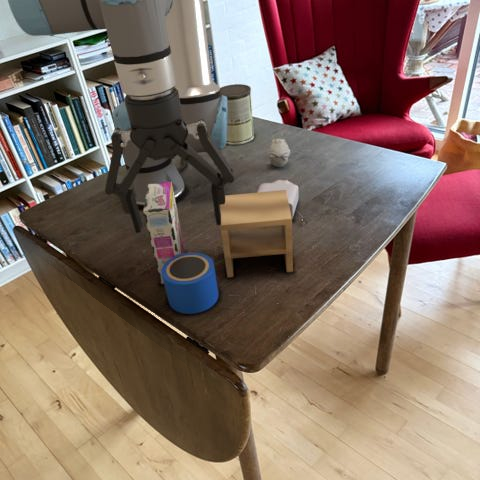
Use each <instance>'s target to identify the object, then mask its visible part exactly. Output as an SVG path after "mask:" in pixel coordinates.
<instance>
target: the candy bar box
mask: <svg viewBox="0 0 480 480" xmlns="http://www.w3.org/2000/svg"><path fill="white" fill-rule="evenodd" d="M177 207H178V206H177V201H175V196H174V191H173V186H172V182H164V183H156V184H148V188H147V194H146V199H145V204H144V209H143V210H142V211H143V212H142V213H143V216H144V219H145V224H146V229H147V232H148V236H149V240H150V244H151V248H152V252H153V256H154V260H155V263H156V269H157V273H158V276H159V280H160V284H161V285H164V282H163V278H162V274H161V270H162V267H163V265H164V264H165V263H166V262H167V261H168V260H169V259H171V258H173V257H175V256H177V255H180V254H184V253H186V249H185V244H184V243H185V242H184V239H183V233H182V229H181V222H180V219H179V213H178V208H177Z"/></svg>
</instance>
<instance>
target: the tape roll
mask: <svg viewBox="0 0 480 480" xmlns="http://www.w3.org/2000/svg"><path fill="white" fill-rule="evenodd" d="M161 274H162V278H163V282H164V284H163V285H164V290H165V294H166V298H167V300H168V304H169V306H170V308H171V309H173V311H175V312H178V313H181V314H185V315H193V314H199V313H202V312H205V311H208V310H209V309H211V308H212V307H214V305H216V303H217V301H218V300H219V295H220V294H219V288H218V281H217V275H216V269H215V263H214V260H213V258H211V256H209V255H207V254H205V253H201V252H185V253H184V254H180V255H177V256H175V257H173V258H171V259H169V260H168V261H167V262H166V263H165V264H164V265H163V267H162V270H161Z"/></svg>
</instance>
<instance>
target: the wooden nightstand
mask: <svg viewBox="0 0 480 480" xmlns="http://www.w3.org/2000/svg"><path fill="white" fill-rule="evenodd" d="M257 192H258V191H257ZM257 192H249V193H239V194H229V195H228V194H227V195H225V204H221V205H220V211H221V225H219V227H220V234H221V235H220V236H221V242H222V249H223V257H224V264H225V269H226V271H225V272H226V278H233V277H234V259H240V258H241V259H242V258H250V257H251V258H252V257H263V256H273V255H283V259H284V263H285V271H286V273H292V272H294V268H293V265H294V263H293V219H292V217H291V212H290V207H289V202H288V198H287V193H286V190H279V191H268V192H258V193H257Z"/></svg>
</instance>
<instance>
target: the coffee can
mask: <svg viewBox="0 0 480 480" xmlns="http://www.w3.org/2000/svg"><path fill="white" fill-rule="evenodd" d="M251 92H252V88H251V86H249V85H248V84H242V83H241V84H240V83H234V84H228V85H224V86H222V87H220V95H221V96H222V95H224V96H226V97H227V105H228V113H227V139H226V145H232V146H238V145H244V144H247V143H249V142H251V141H252V140H254V138H255V134H254V133H255V132H254V122H253V121H254V119H253V106H252V93H251Z"/></svg>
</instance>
